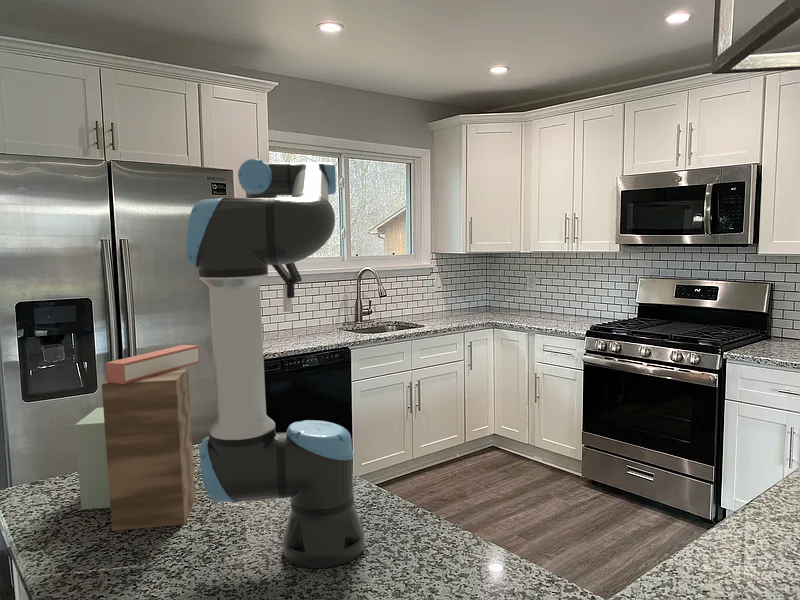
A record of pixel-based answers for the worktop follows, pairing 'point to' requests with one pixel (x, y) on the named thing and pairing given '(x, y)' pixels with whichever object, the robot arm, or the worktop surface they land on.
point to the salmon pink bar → (151, 364)
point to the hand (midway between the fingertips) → (263, 312)
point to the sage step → (92, 461)
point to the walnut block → (149, 451)
